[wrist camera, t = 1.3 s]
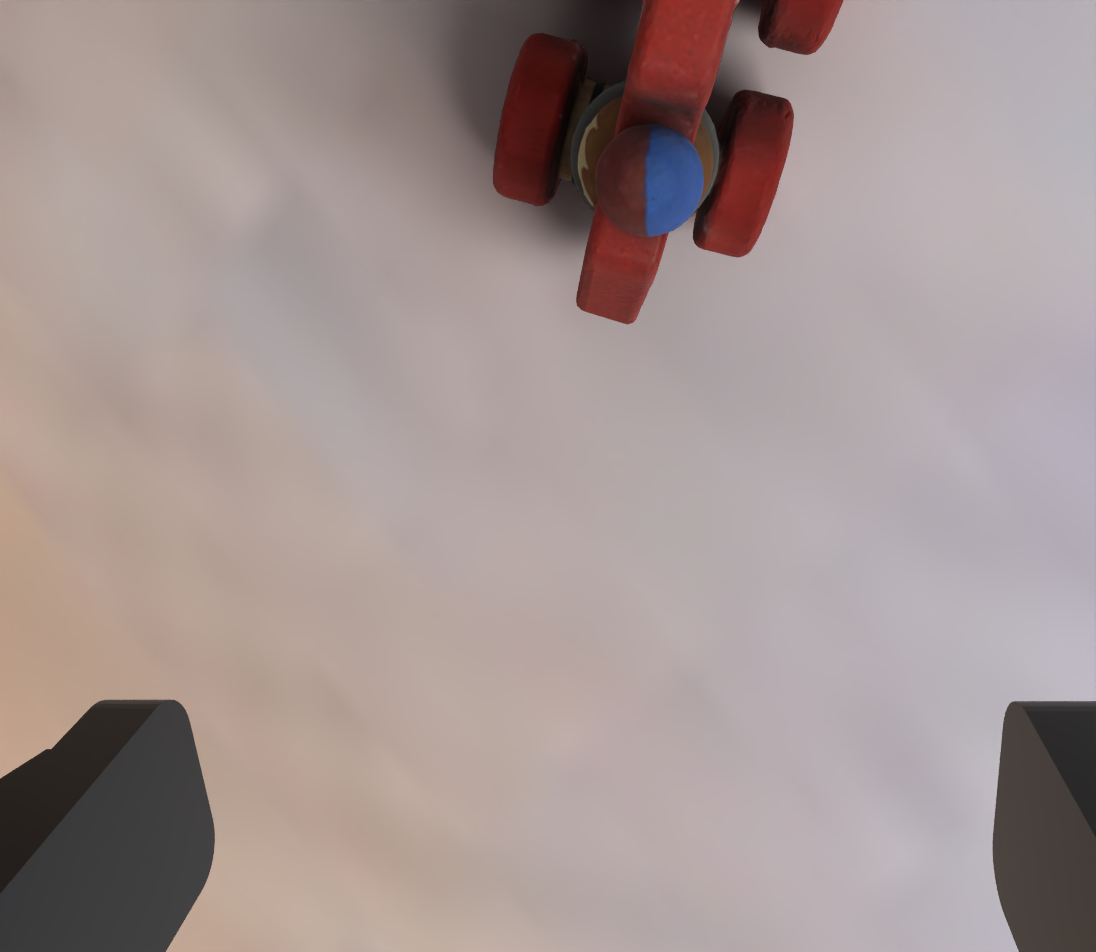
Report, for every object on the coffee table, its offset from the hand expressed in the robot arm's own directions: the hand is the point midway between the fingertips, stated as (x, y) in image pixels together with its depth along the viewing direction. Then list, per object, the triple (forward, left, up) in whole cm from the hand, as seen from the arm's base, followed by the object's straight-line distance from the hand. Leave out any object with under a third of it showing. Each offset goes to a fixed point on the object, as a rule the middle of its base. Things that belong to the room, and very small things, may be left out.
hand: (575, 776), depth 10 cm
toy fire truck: (-2, -7, -21) cm, 22 cm away
